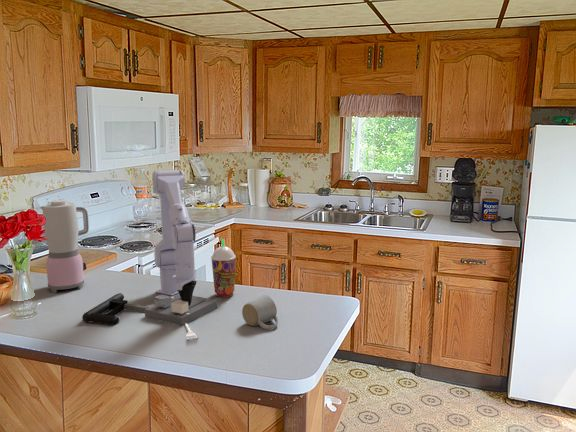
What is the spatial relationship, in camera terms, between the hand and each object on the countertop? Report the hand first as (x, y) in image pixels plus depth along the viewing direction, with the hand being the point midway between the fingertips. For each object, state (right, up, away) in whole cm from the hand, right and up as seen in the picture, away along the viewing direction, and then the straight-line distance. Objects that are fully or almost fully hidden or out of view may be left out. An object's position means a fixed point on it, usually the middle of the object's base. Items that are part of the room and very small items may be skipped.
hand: (186, 305), depth 160 cm
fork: (+2, -6, -8) cm, 11 cm away
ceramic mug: (+24, -5, -5) cm, 25 cm away
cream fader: (-2, -1, -2) cm, 3 cm away
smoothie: (+9, 0, +21) cm, 23 cm away
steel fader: (-8, -1, +2) cm, 8 cm away
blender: (-49, +1, +31) cm, 57 cm away
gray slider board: (-2, -3, +4) cm, 6 cm away
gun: (-22, -4, +5) cm, 23 cm away
